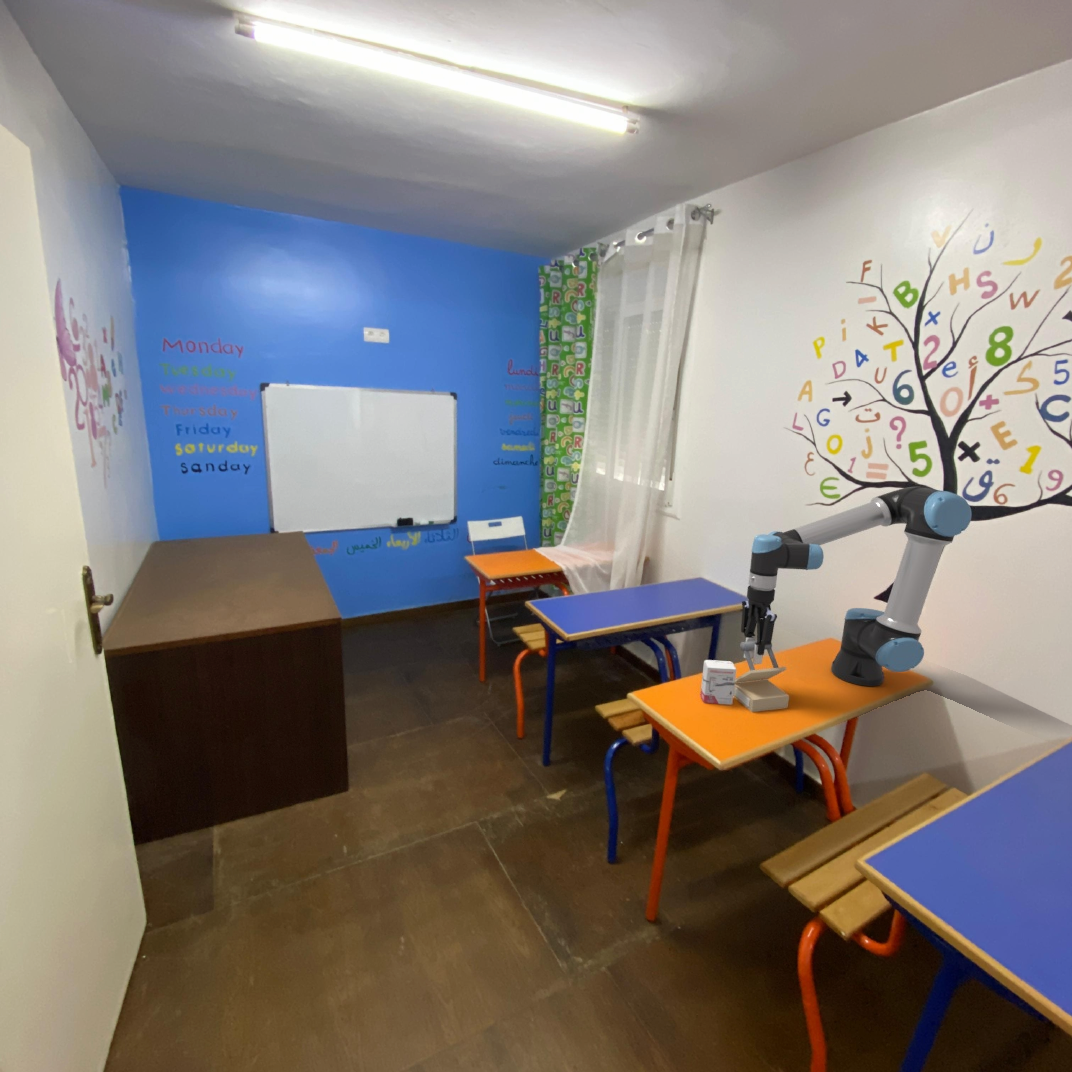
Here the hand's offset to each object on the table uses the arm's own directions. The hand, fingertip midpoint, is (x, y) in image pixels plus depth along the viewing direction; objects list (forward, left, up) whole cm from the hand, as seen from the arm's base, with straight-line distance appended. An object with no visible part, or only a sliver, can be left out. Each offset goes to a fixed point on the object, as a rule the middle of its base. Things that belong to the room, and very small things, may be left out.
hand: (752, 660), depth 163 cm
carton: (0, +5, -11) cm, 12 cm away
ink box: (+12, +2, -11) cm, 17 cm away
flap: (0, +4, -3) cm, 5 cm away
